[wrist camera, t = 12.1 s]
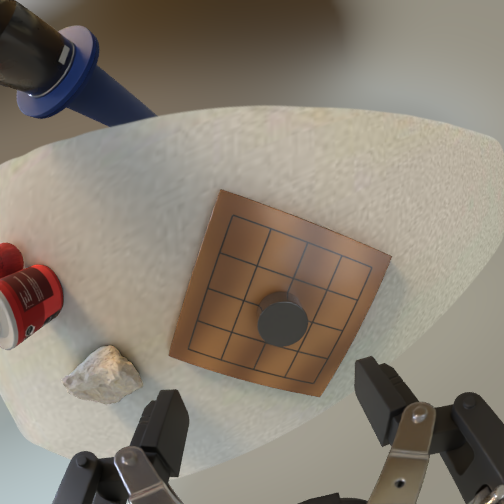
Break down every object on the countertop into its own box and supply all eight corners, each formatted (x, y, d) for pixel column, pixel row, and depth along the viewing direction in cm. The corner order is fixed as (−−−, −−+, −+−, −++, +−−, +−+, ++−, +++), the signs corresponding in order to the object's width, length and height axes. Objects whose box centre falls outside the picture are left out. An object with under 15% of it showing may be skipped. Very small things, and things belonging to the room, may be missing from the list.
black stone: (249, 325, 29) (250, 339, 26) (266, 284, 28) (268, 294, 25) (292, 338, 30) (296, 352, 27) (310, 299, 29) (316, 310, 26)
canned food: (33, 311, 31) (-13, 341, 20) (26, 260, 29) (-27, 280, 18) (68, 321, 31) (22, 359, 20) (61, 265, 29) (5, 291, 18)
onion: (10, 236, 28) (-27, 246, 20) (33, 241, 28) (-7, 253, 21) (12, 274, 29) (-23, 289, 21) (34, 282, 29) (-2, 300, 22)
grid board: (171, 349, 31) (168, 356, 30) (222, 189, 28) (220, 189, 26) (317, 390, 33) (320, 397, 31) (386, 253, 30) (392, 256, 28)
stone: (148, 373, 36) (155, 401, 27) (88, 408, 31) (81, 442, 22) (119, 331, 35) (116, 349, 26) (57, 369, 30) (40, 395, 21)
